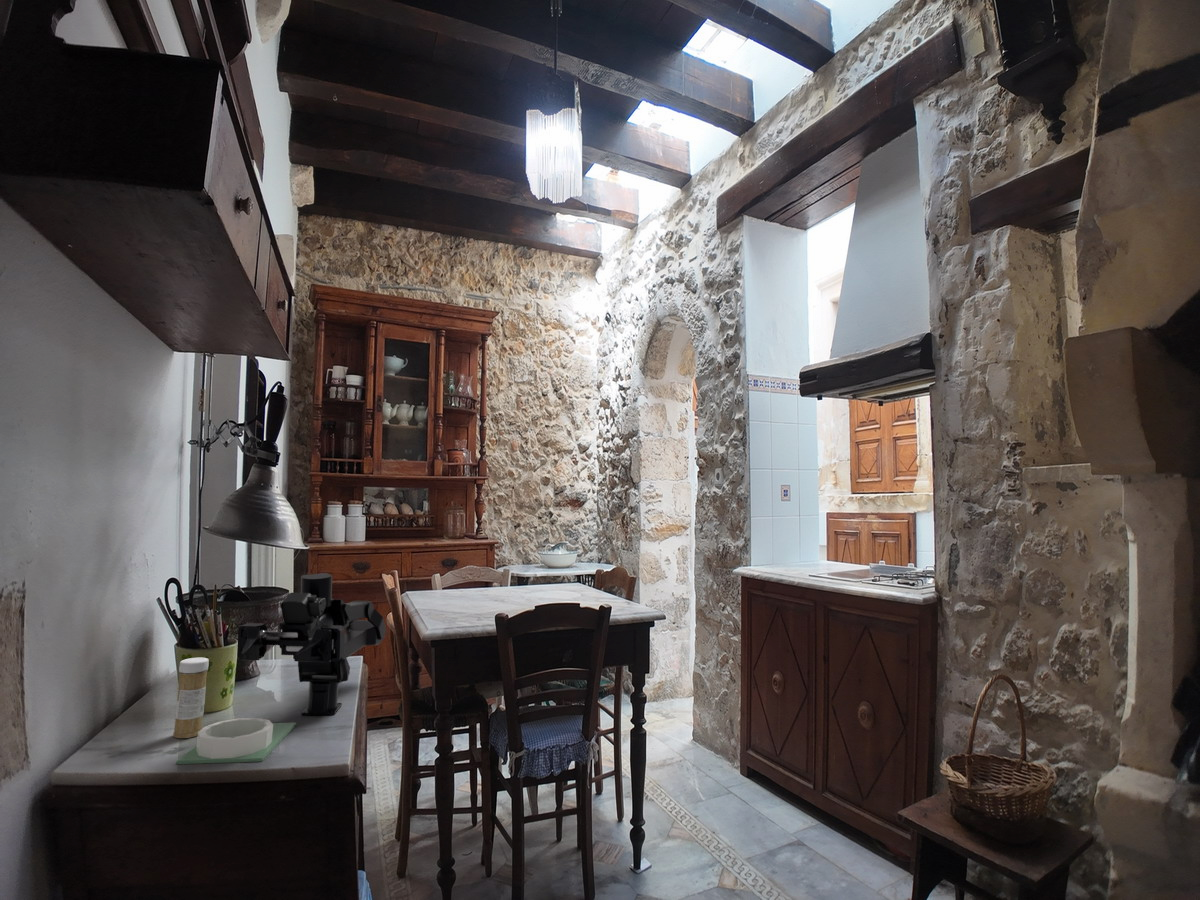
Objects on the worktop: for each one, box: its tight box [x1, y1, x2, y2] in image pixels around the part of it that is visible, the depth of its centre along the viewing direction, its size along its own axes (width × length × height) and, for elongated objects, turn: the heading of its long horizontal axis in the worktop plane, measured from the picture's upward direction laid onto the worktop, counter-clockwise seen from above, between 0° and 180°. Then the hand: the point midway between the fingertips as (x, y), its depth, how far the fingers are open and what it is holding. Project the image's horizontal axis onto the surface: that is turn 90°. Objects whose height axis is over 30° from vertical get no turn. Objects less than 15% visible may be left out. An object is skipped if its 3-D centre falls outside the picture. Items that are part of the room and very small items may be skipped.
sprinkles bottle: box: [172, 657, 210, 739], centre depth 115 cm, size 5×5×14 cm
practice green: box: [175, 717, 297, 765], centre depth 112 cm, size 18×13×4 cm
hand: (268, 657), depth 108 cm, fingers open, 9 cm apart
